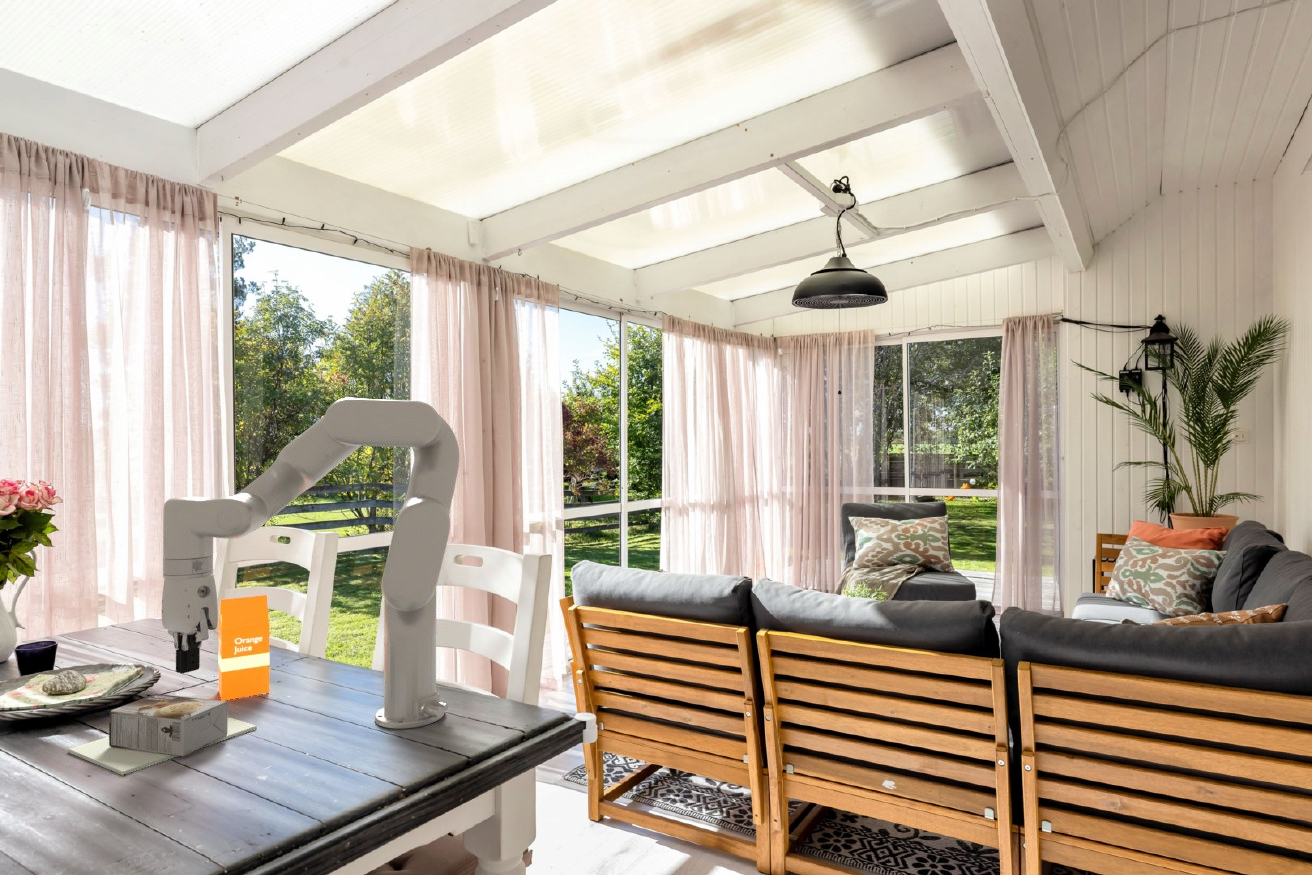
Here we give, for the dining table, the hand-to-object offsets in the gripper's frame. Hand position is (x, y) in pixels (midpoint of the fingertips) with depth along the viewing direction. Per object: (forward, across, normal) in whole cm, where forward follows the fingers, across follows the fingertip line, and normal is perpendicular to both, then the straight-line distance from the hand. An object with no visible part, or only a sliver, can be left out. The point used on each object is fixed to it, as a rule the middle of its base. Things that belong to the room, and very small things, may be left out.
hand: (187, 670), depth 132 cm
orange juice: (+12, +16, -20) cm, 29 cm away
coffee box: (+8, -8, +1) cm, 12 cm away
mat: (+12, +3, +2) cm, 13 cm away
